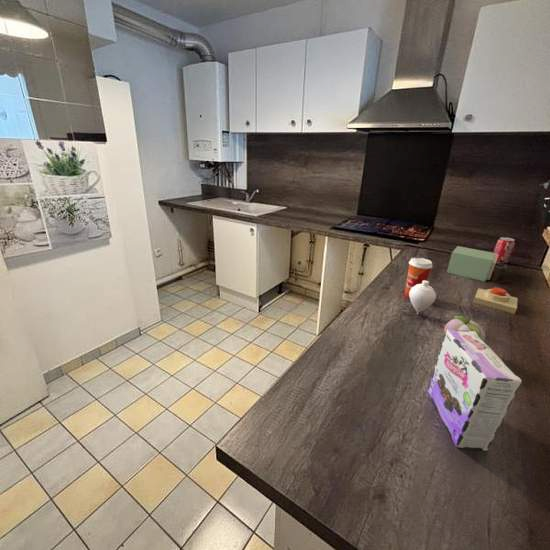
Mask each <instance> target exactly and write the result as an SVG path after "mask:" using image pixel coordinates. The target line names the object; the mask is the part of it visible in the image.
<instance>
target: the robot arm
mask: <svg viewBox="0 0 550 550" xmlns="http://www.w3.org/2000/svg"><path fill="white" fill-rule="evenodd" d="M548 187H550V179H548V181H547V182H545V183H540V184H539V188H540V200H539V203H540V204H539V210H541V211H543V213H542V216H541V220H543V223H542V225H541V229H542V230H547V229H548V228H549V226H550V197H549V198H548V201H547V204H546V206H545V202H546V189H548Z"/></svg>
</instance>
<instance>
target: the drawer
mask: <svg viewBox="0 0 550 550" xmlns="http://www.w3.org/2000/svg"><path fill="white" fill-rule="evenodd" d="M497 257H498V256H494V258H493V261H492V264H491V267H490V269H489V272H488V275H487V278H486V281H490V280H491V277H492V274H493V272H494V270H499V271H501V272H502V273H505V272H506V271H507V268H508V263H505V264H501V263H496V260H497ZM496 266H499V267H496Z"/></svg>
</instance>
